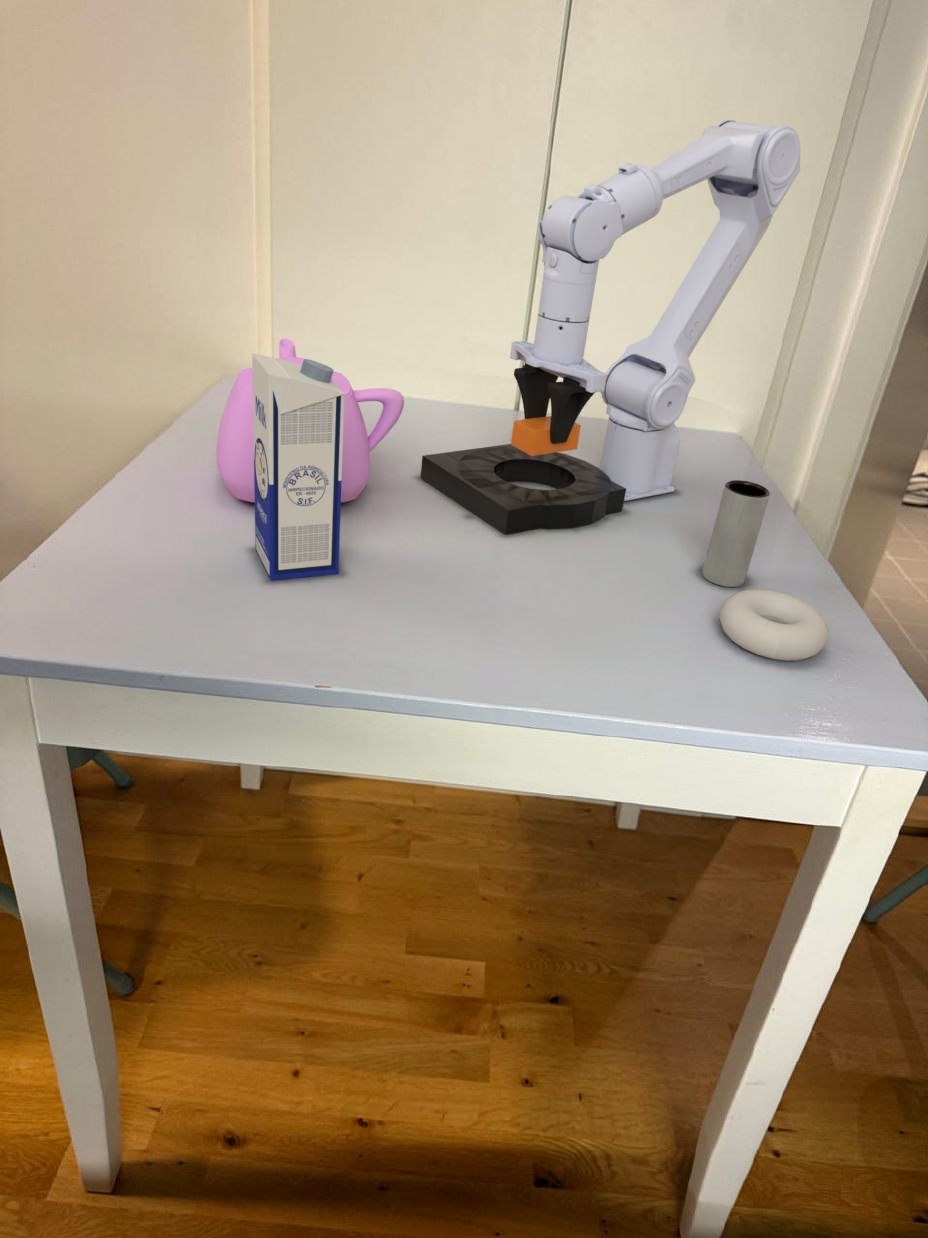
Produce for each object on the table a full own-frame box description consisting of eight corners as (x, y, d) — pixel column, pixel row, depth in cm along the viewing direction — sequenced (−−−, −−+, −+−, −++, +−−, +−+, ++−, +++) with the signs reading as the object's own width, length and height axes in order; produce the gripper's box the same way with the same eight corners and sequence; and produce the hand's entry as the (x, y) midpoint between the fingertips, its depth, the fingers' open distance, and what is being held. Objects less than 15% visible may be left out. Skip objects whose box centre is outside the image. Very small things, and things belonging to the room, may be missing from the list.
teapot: (409, 517, 101) (419, 385, 94) (216, 517, 96) (210, 377, 89) (381, 448, 120) (387, 333, 113) (219, 444, 115) (214, 324, 108)
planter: (745, 574, 98) (771, 485, 92) (742, 591, 94) (769, 500, 89) (703, 564, 99) (727, 476, 94) (699, 581, 95) (723, 490, 90)
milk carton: (254, 549, 91) (251, 350, 81) (319, 543, 93) (324, 350, 84) (270, 581, 85) (269, 372, 75) (339, 574, 88) (346, 371, 78)
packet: (555, 438, 109) (559, 414, 108) (577, 449, 107) (581, 424, 105) (510, 444, 106) (513, 420, 104) (531, 456, 103) (535, 431, 101)
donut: (796, 616, 91) (701, 610, 89) (806, 586, 89) (710, 579, 87) (840, 671, 82) (736, 665, 81) (852, 639, 80) (747, 632, 79)
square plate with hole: (540, 460, 123) (543, 439, 121) (639, 514, 109) (644, 491, 108) (420, 478, 112) (422, 455, 111) (513, 540, 99) (516, 515, 98)
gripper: (495, 303, 101) (482, 419, 108) (579, 334, 92) (559, 460, 98) (543, 301, 105) (527, 414, 112) (629, 331, 95) (606, 453, 102)
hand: (545, 435), depth 105 cm, fingers closed on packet, 4 cm apart
